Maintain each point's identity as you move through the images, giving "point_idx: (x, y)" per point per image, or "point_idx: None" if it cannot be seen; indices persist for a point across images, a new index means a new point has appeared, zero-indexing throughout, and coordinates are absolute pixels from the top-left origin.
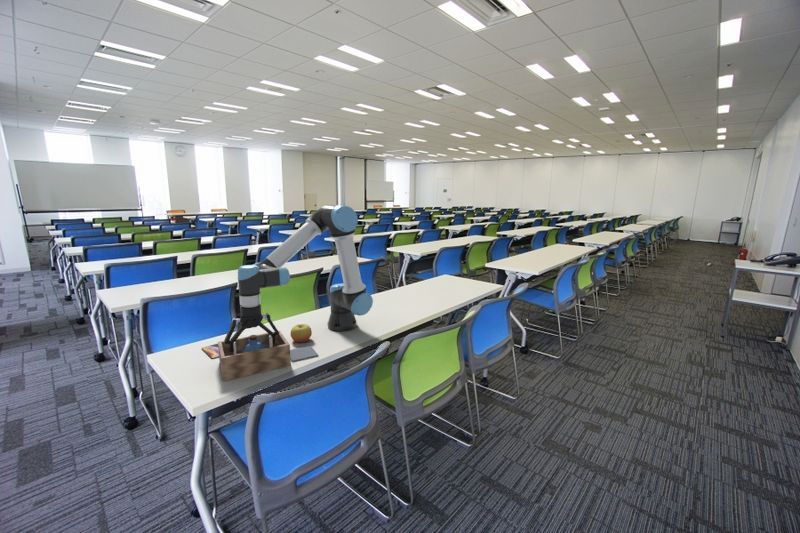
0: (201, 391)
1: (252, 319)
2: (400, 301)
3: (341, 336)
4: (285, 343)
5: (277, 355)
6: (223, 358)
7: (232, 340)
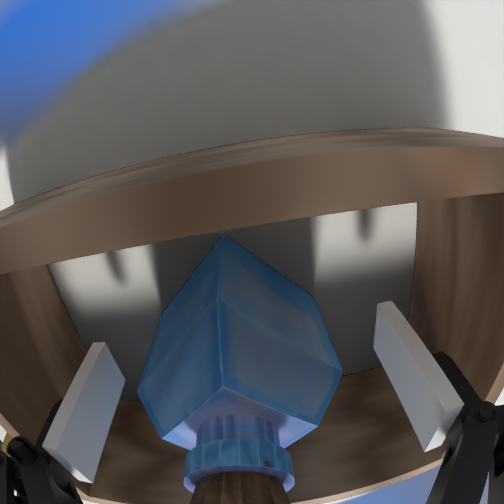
0: (501, 79)
1: None
2: None
3: None
4: None
5: (11, 212)
6: None
7: (490, 441)
